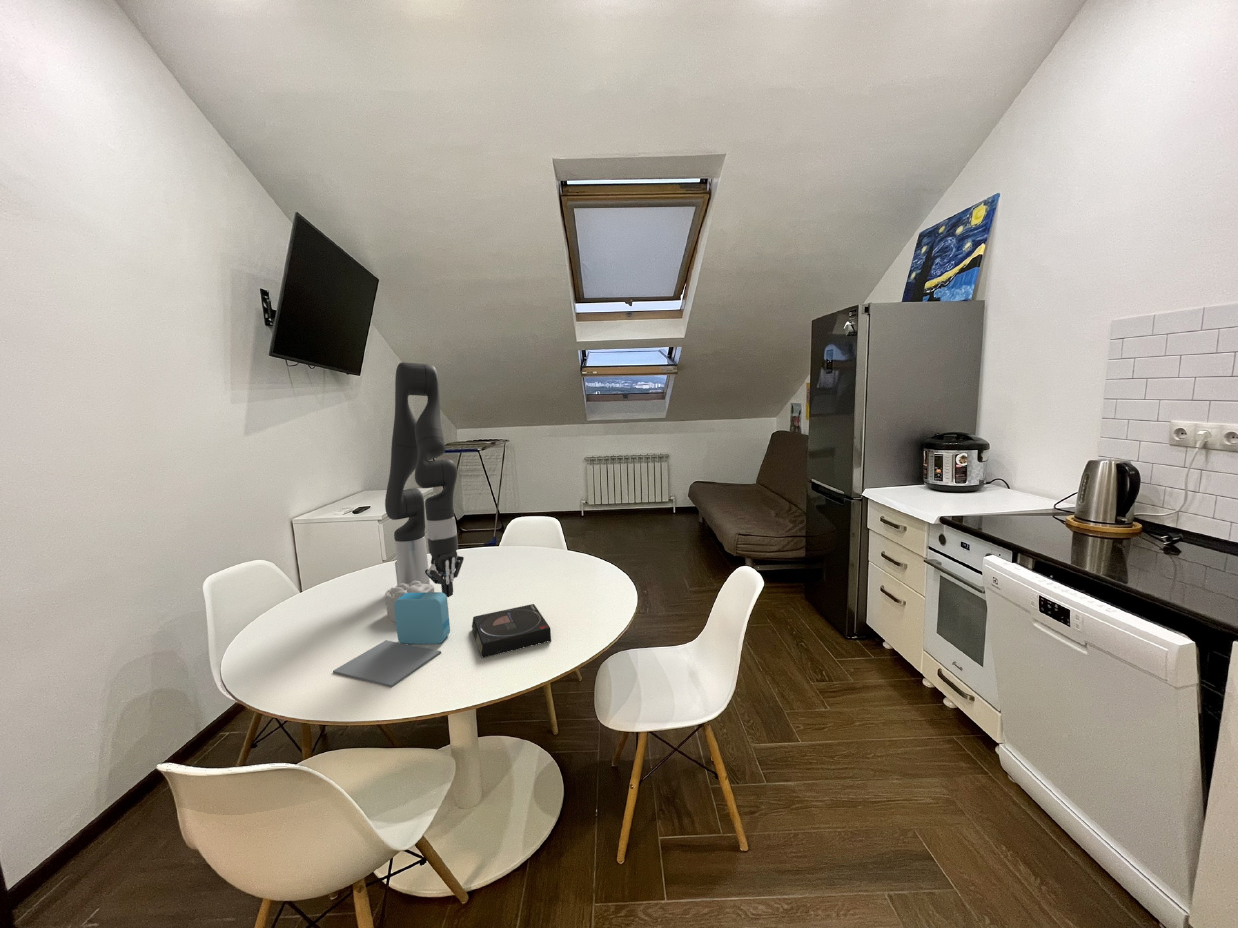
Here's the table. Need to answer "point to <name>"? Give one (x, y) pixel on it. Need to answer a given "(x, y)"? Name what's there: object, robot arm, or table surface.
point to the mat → (387, 663)
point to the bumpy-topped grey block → (401, 590)
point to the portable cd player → (510, 630)
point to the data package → (422, 618)
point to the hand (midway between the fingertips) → (448, 595)
